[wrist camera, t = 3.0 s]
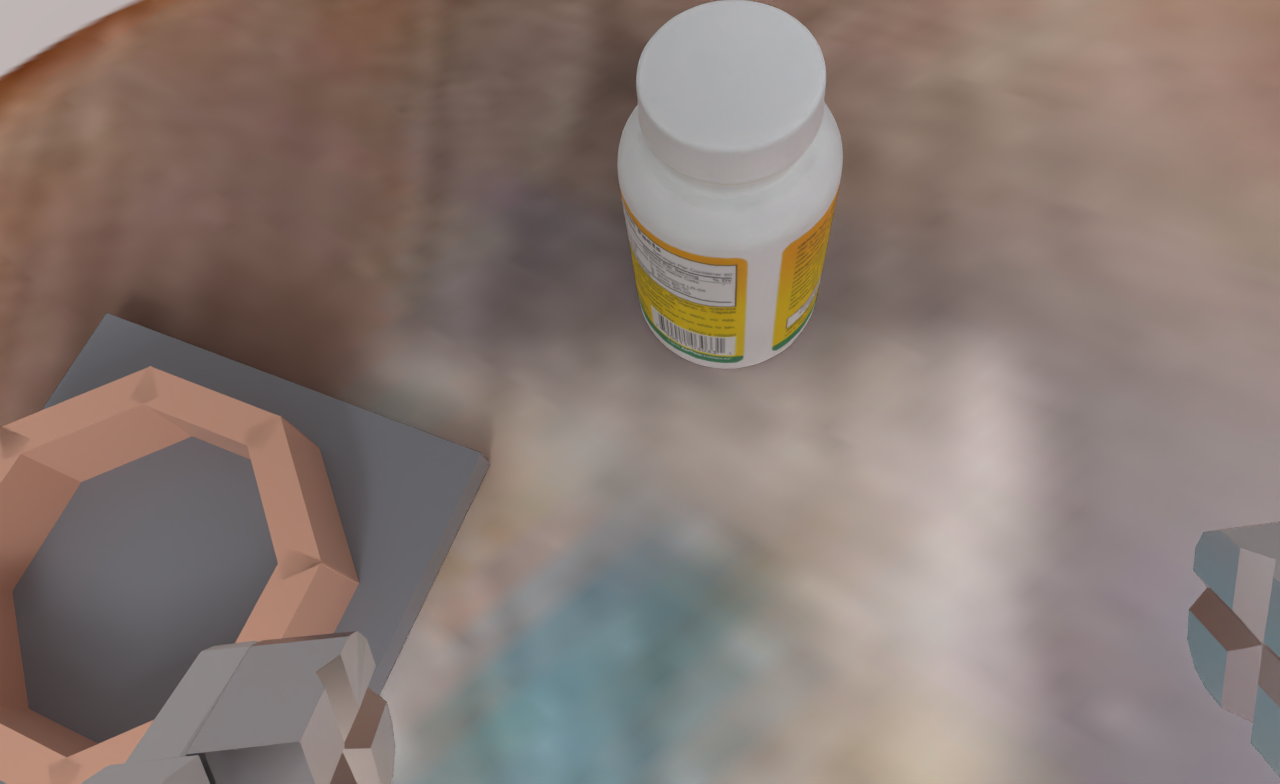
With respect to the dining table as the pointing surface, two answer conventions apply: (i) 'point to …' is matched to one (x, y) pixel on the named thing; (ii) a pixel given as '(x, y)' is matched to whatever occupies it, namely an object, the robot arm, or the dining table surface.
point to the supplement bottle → (729, 181)
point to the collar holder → (196, 537)
